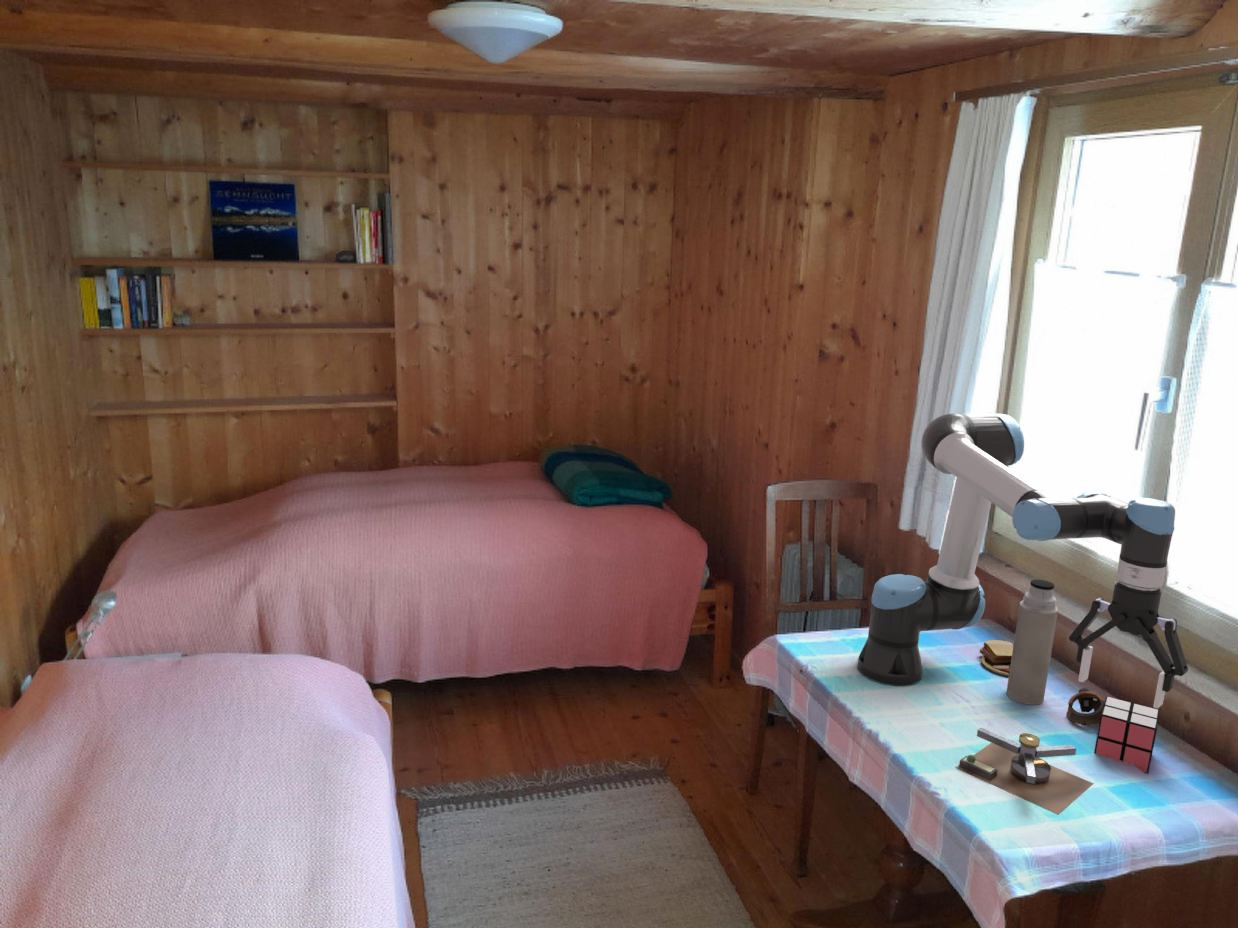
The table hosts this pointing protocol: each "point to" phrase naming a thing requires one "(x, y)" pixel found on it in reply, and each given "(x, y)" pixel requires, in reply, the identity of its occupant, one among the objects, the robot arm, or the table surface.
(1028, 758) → the cam capstan
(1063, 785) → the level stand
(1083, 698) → the pottery mug
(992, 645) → the toy sandwich meal
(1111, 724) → the puzzle cube
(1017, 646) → the thermos bottle
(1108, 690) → the table surface
